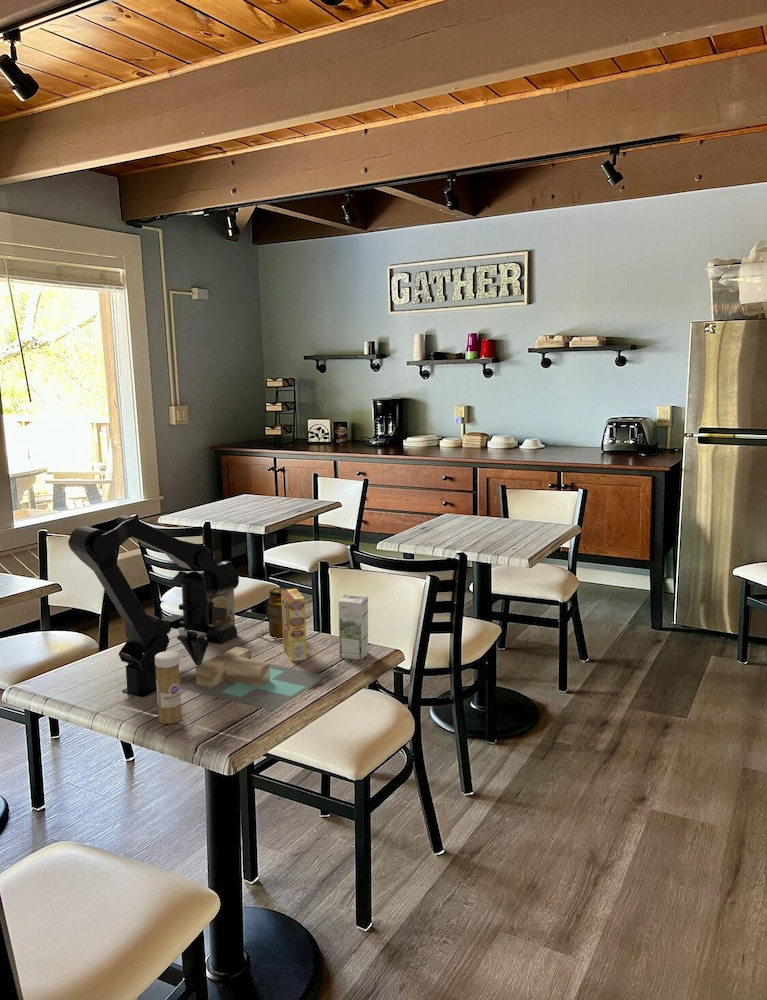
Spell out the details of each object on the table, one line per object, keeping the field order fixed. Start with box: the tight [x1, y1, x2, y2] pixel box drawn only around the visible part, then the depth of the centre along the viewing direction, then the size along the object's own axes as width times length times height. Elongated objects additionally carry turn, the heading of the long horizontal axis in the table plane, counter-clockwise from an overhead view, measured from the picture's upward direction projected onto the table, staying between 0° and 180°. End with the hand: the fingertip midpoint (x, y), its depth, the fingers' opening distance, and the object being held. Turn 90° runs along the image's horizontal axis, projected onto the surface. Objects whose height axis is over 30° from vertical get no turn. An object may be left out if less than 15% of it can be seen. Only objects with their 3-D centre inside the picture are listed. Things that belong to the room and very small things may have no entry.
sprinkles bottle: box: [155, 650, 183, 725], centre depth 151 cm, size 5×5×13 cm
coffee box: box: [202, 589, 236, 630], centre depth 200 cm, size 9×6×16 cm
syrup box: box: [338, 594, 369, 661], centre depth 184 cm, size 6×6×14 cm
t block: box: [195, 646, 271, 688], centre depth 171 cm, size 14×13×4 cm
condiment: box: [256, 587, 289, 641], centre depth 199 cm, size 7×8×12 cm
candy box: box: [281, 588, 308, 662], centre depth 185 cm, size 9×4×15 cm, turn 19°
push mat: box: [181, 663, 327, 711], centre depth 169 cm, size 20×24×1 cm
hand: (198, 665), depth 177 cm, fingers closed
